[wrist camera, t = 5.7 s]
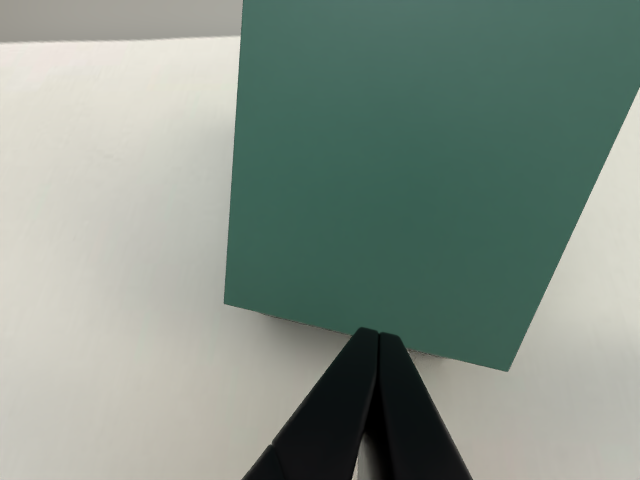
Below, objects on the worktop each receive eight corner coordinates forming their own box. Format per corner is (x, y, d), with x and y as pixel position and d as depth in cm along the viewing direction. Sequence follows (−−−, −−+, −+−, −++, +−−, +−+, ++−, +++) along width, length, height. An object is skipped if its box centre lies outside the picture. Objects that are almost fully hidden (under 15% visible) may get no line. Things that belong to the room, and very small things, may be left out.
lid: (260, -144, 10) (252, -157, 9) (706, -91, 8) (728, -103, 8) (229, 296, 15) (223, 304, 14) (503, 361, 14) (508, 372, 13)
